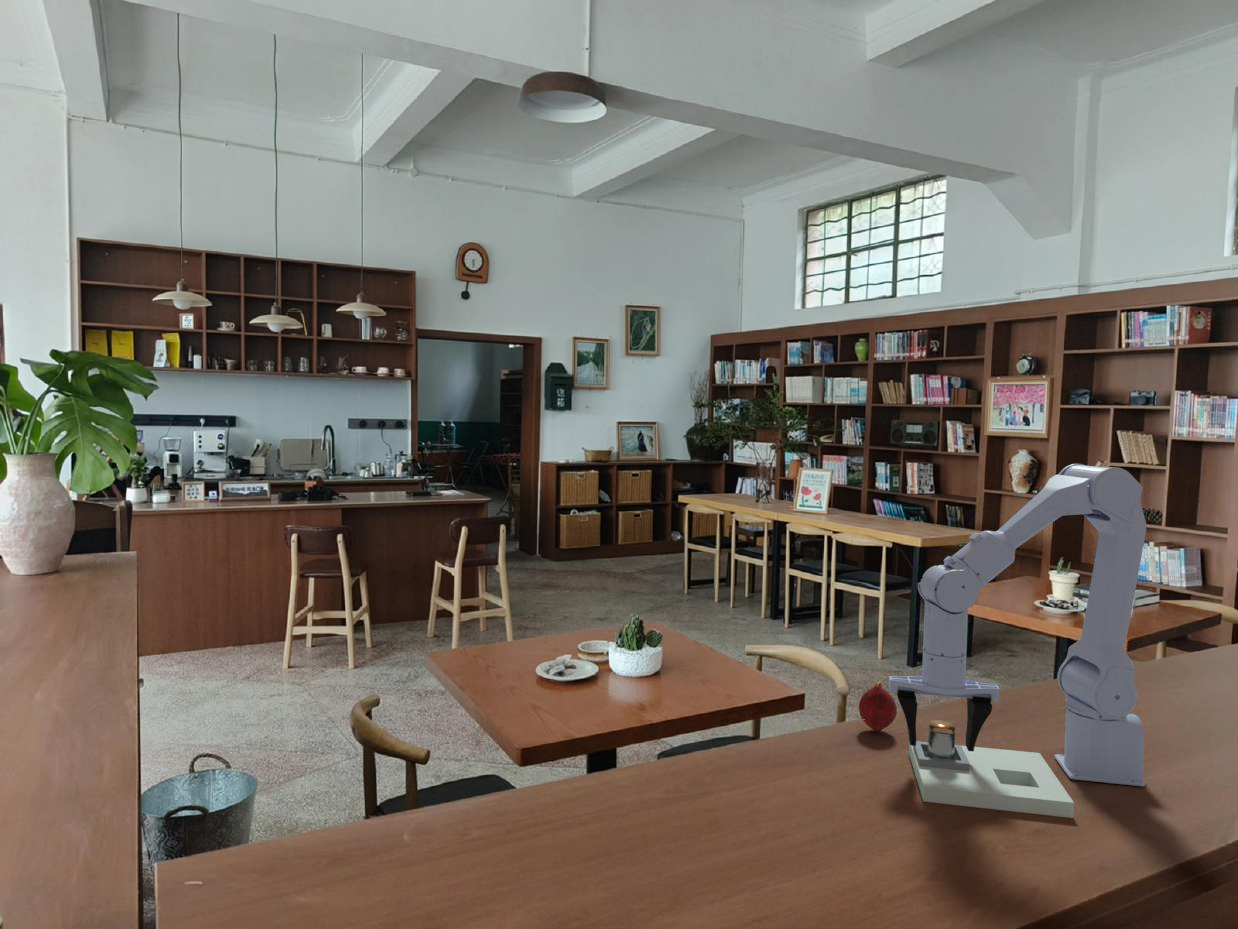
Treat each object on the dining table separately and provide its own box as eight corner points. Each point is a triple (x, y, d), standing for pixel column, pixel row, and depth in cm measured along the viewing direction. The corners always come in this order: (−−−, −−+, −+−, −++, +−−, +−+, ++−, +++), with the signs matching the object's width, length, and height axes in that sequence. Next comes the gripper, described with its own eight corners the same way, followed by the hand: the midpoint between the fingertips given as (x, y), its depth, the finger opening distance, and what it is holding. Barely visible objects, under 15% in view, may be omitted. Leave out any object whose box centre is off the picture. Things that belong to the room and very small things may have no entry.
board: (1039, 766, 120) (1039, 746, 120) (1073, 818, 105) (1074, 795, 105) (908, 753, 124) (909, 734, 124) (923, 801, 109) (924, 779, 109)
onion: (897, 740, 130) (899, 689, 129) (859, 736, 131) (861, 687, 130) (893, 726, 135) (895, 678, 135) (856, 723, 136) (858, 675, 136)
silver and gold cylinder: (951, 770, 119) (953, 721, 118) (955, 780, 115) (956, 730, 115) (925, 767, 120) (927, 719, 119) (928, 777, 116) (930, 727, 116)
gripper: (993, 648, 119) (989, 740, 120) (888, 640, 122) (884, 730, 123) (1004, 662, 112) (1000, 759, 113) (892, 653, 115) (889, 748, 116)
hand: (940, 746), depth 117 cm, fingers open, 7 cm apart
